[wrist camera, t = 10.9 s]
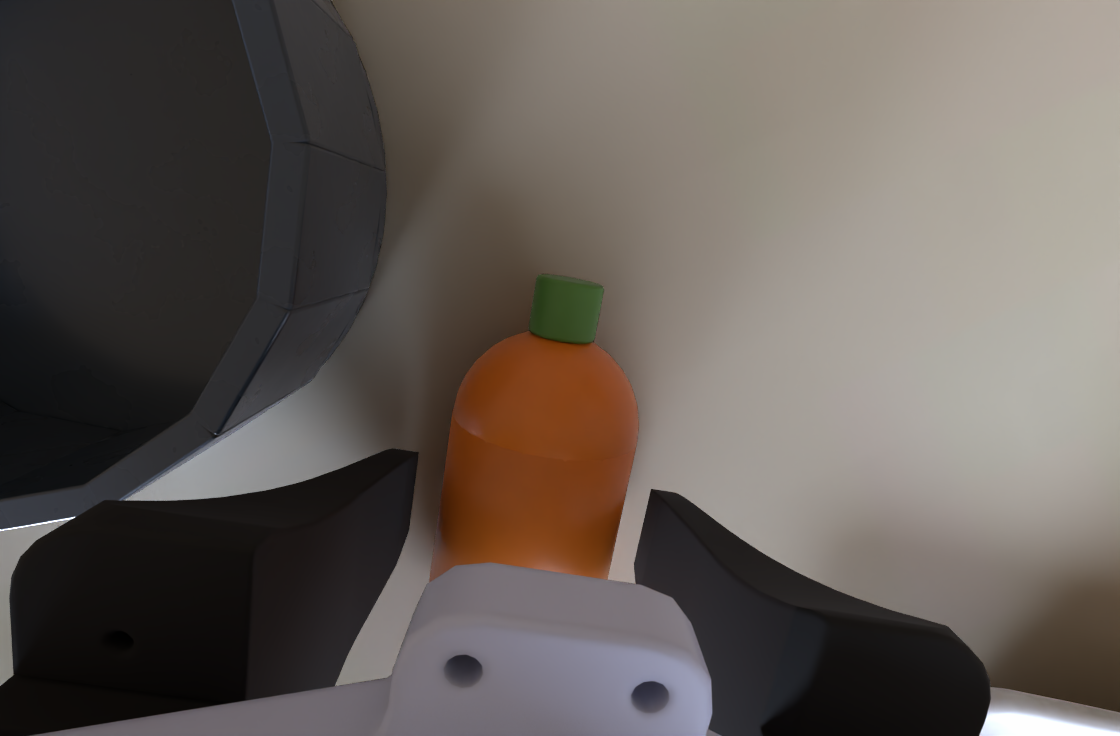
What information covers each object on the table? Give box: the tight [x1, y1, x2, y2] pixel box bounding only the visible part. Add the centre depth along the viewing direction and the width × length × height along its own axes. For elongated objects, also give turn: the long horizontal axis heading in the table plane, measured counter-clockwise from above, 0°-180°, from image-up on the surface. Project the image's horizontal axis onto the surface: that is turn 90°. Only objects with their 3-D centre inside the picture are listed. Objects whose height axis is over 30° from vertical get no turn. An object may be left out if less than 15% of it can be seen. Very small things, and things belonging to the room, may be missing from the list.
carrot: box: [429, 274, 639, 582], centre depth 13 cm, size 10×4×4 cm, turn 170°
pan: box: [0, 0, 387, 531], centre depth 11 cm, size 13×13×4 cm
